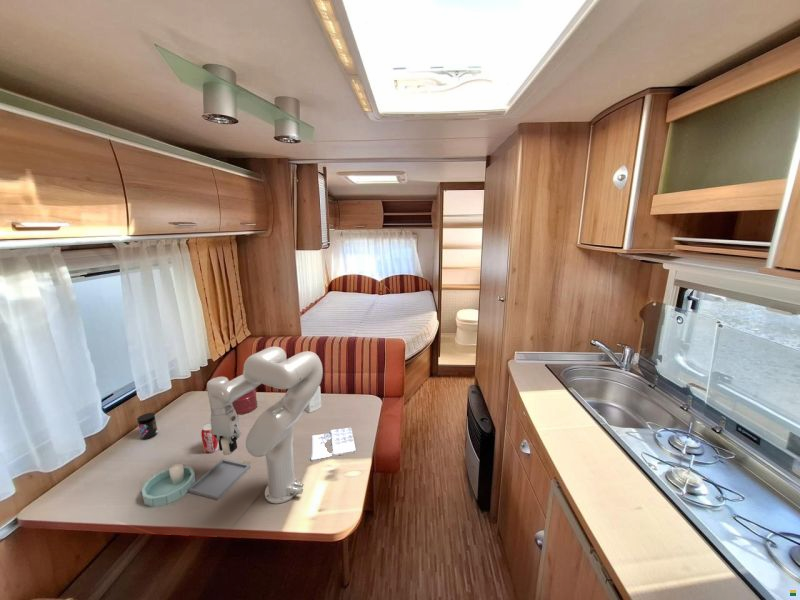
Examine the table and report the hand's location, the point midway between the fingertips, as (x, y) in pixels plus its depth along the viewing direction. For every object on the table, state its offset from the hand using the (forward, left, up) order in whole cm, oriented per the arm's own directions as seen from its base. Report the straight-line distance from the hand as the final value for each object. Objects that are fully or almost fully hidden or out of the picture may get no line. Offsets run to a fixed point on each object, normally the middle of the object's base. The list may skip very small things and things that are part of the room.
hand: (228, 448), depth 127 cm
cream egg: (+16, +10, -10) cm, 21 cm away
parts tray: (+1, +4, -11) cm, 12 cm away
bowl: (+16, +13, -11) cm, 24 cm away
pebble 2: (0, 0, -1) cm, 1 cm away
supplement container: (+57, -10, -12) cm, 59 cm away
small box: (-7, -53, -12) cm, 54 cm away
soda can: (+19, -10, -11) cm, 24 cm away
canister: (+30, -43, -12) cm, 53 cm away
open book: (-32, -28, -12) cm, 44 cm away
